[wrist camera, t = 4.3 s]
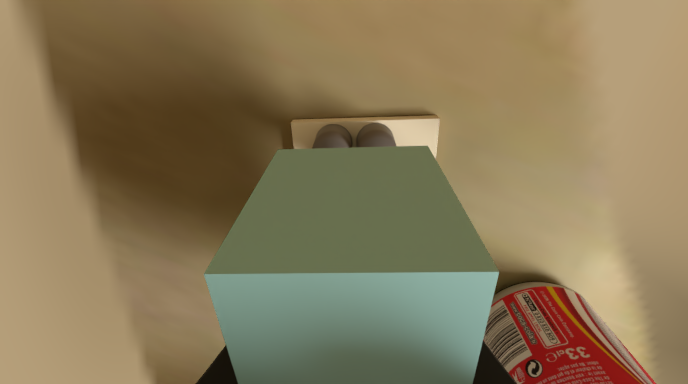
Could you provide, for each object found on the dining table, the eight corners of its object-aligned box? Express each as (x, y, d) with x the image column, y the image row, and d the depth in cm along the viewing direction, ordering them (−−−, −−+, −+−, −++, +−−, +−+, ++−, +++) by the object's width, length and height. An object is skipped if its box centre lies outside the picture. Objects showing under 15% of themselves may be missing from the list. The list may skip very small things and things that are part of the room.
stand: (424, 248, 19) (435, 284, 17) (307, 250, 20) (300, 285, 17) (436, 115, 16) (453, 134, 13) (292, 119, 16) (280, 139, 13)
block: (277, 149, 10) (204, 274, 5) (428, 145, 10) (499, 272, 5) (307, 357, 15) (283, 527, 10) (409, 358, 15) (437, 532, 10)
